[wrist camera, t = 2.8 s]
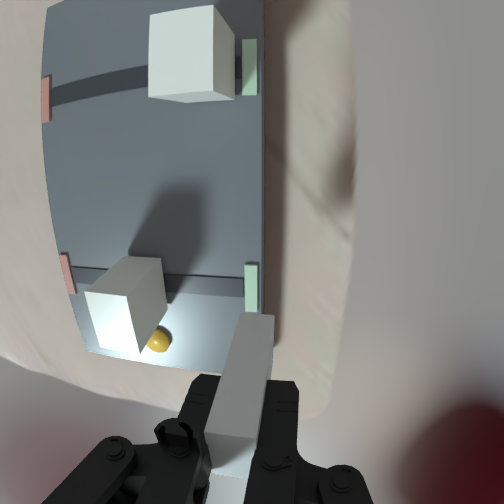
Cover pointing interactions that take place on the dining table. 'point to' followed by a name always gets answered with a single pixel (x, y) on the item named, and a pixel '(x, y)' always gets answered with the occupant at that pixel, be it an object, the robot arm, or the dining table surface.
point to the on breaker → (191, 56)
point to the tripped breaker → (128, 303)
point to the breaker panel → (156, 173)
